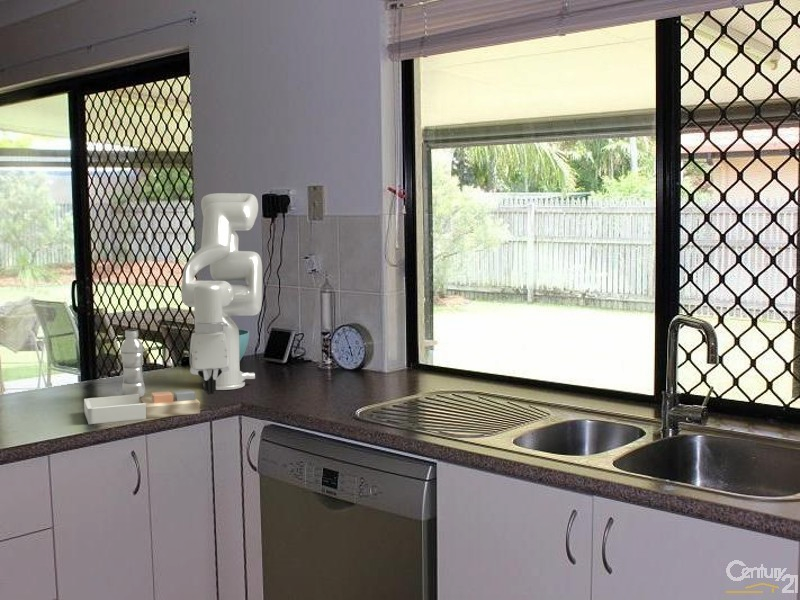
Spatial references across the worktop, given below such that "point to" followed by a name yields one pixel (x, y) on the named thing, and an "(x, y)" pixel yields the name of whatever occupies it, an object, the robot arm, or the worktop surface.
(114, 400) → the box
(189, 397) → the slate tile
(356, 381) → the worktop surface
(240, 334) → the teal bowl
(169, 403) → the plate
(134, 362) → the plastic bottle
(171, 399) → the terracotta tile
